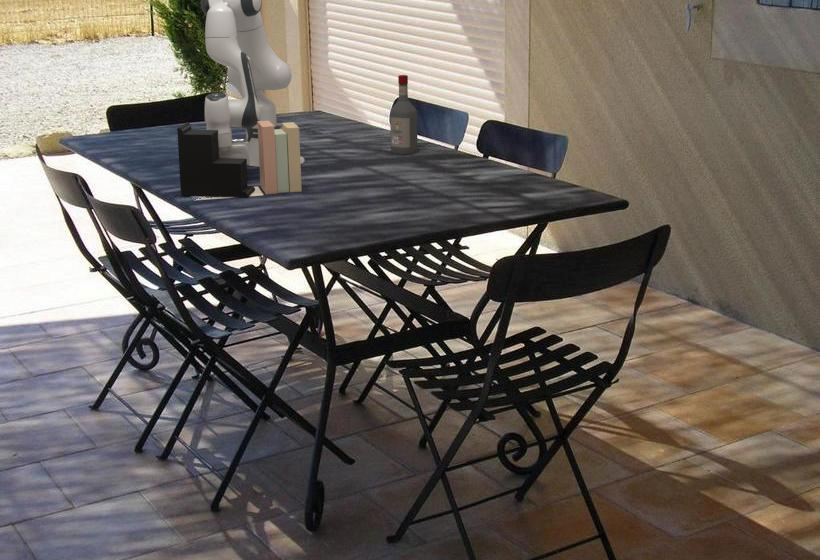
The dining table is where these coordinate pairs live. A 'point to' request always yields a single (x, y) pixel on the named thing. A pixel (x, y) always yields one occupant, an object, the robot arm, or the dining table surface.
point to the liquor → (403, 122)
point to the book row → (279, 157)
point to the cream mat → (255, 193)
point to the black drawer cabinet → (209, 166)
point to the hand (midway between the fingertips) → (221, 179)
